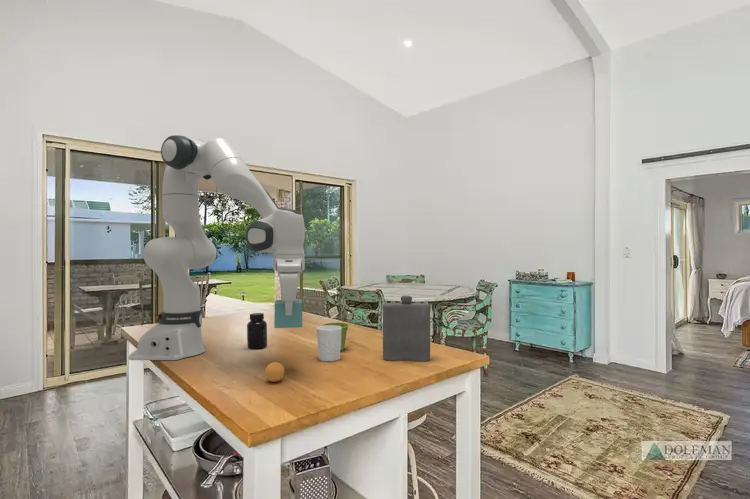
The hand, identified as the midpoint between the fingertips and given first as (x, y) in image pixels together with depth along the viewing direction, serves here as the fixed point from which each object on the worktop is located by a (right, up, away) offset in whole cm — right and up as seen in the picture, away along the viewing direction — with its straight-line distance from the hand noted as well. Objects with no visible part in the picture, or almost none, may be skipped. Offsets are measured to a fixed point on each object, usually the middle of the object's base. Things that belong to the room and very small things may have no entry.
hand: (288, 312), depth 116 cm
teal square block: (0, -4, 0) cm, 4 cm away
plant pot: (+11, -17, +24) cm, 31 cm away
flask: (+35, -17, +12) cm, 41 cm away
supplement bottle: (-17, -17, +27) cm, 36 cm away
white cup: (+10, -17, +12) cm, 23 cm away
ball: (-2, -14, -9) cm, 17 cm away
